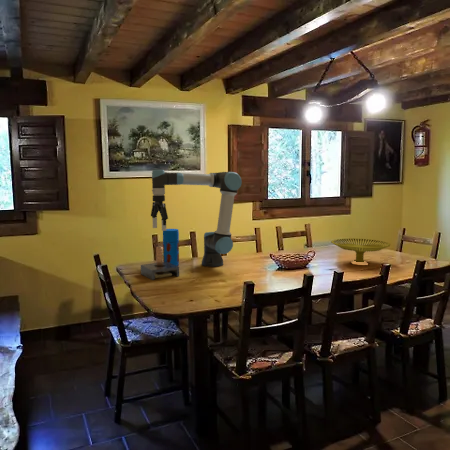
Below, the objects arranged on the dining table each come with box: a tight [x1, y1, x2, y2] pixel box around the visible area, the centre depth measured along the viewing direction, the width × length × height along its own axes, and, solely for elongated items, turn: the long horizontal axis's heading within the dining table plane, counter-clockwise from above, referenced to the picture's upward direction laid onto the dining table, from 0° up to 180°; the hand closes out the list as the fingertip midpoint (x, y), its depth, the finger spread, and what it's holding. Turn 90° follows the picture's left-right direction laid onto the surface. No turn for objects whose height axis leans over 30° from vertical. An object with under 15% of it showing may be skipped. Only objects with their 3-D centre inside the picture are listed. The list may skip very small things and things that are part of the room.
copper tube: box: [155, 245, 163, 274], centre depth 277 cm, size 4×4×18 cm
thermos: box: [162, 228, 180, 267], centre depth 304 cm, size 11×11×25 cm
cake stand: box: [330, 237, 391, 262], centre depth 313 cm, size 40×40×15 cm
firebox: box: [140, 262, 180, 281], centre depth 278 cm, size 18×18×6 cm
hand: (159, 229), depth 275 cm, fingers open, 13 cm apart
